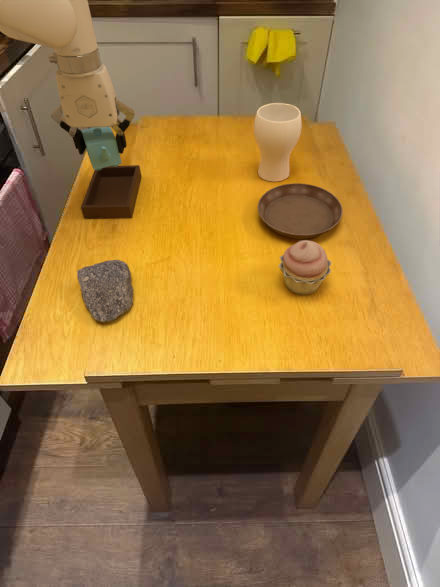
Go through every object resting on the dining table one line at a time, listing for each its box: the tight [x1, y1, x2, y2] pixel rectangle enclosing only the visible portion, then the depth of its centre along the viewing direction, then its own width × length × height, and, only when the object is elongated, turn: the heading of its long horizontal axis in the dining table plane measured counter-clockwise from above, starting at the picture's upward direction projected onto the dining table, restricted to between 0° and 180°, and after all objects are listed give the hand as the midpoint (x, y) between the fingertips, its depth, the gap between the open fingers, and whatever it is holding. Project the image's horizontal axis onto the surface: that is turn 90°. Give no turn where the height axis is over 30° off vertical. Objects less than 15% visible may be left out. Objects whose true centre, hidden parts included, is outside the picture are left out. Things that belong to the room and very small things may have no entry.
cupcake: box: [278, 239, 332, 296], centre depth 72 cm, size 9×9×10 cm
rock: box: [76, 259, 134, 323], centre depth 73 cm, size 12×5×10 cm
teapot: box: [80, 127, 123, 171], centre depth 86 cm, size 12×6×8 cm, turn 22°
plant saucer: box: [257, 182, 344, 240], centre depth 87 cm, size 18×18×3 cm
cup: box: [253, 102, 303, 182], centre depth 95 cm, size 11×11×15 cm
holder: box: [80, 164, 142, 220], centre depth 94 cm, size 17×11×3 cm, turn 0°
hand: (102, 150), depth 87 cm, fingers closed on teapot, 7 cm apart
